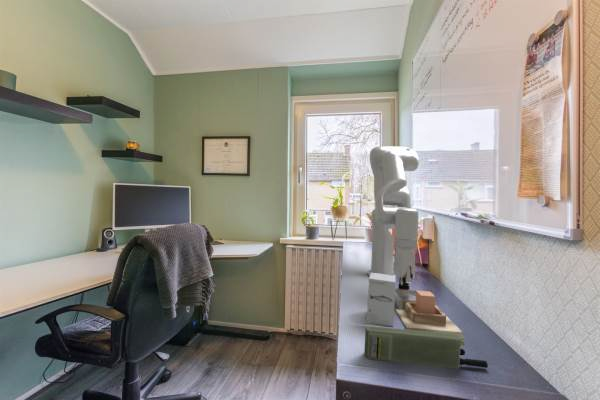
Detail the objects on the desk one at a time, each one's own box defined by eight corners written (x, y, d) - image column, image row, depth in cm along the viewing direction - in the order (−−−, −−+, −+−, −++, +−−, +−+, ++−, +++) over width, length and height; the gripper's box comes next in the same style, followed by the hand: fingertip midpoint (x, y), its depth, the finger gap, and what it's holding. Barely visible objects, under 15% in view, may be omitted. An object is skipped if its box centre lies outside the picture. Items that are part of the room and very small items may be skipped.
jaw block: (415, 313, 79) (416, 290, 79) (429, 314, 78) (430, 291, 78) (419, 319, 75) (420, 295, 75) (434, 321, 74) (435, 296, 74)
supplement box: (366, 322, 74) (367, 278, 74) (368, 312, 81) (370, 271, 81) (393, 327, 71) (395, 281, 71) (394, 316, 78) (395, 274, 78)
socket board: (395, 311, 82) (396, 300, 82) (443, 316, 80) (443, 304, 80) (406, 331, 70) (407, 317, 70) (462, 336, 68) (463, 322, 68)
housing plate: (394, 301, 90) (395, 288, 90) (415, 302, 89) (416, 289, 89) (400, 310, 82) (401, 296, 82) (424, 312, 81) (424, 298, 81)
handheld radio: (363, 351, 60) (481, 364, 57) (365, 361, 57) (490, 375, 53) (365, 323, 60) (483, 334, 56) (366, 331, 56) (492, 343, 53)
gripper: (389, 239, 100) (387, 287, 100) (400, 246, 85) (397, 303, 85) (410, 240, 99) (408, 289, 99) (424, 248, 84) (422, 305, 84)
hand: (403, 295), depth 92 cm, fingers closed
